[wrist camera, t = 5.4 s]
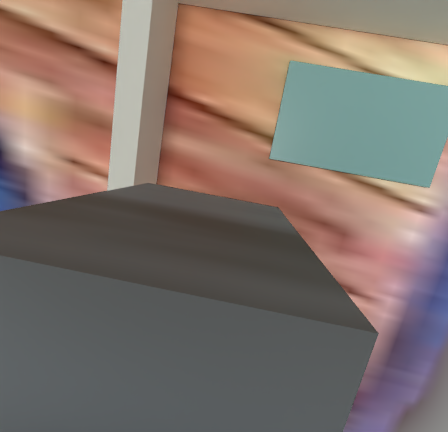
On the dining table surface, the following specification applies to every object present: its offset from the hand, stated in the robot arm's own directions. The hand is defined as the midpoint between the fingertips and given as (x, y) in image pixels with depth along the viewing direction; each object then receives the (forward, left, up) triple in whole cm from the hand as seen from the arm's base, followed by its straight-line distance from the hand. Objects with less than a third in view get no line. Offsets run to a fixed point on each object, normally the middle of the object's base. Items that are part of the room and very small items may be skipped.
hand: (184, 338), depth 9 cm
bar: (0, 0, -1) cm, 1 cm away
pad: (-12, +10, -15) cm, 22 cm away
